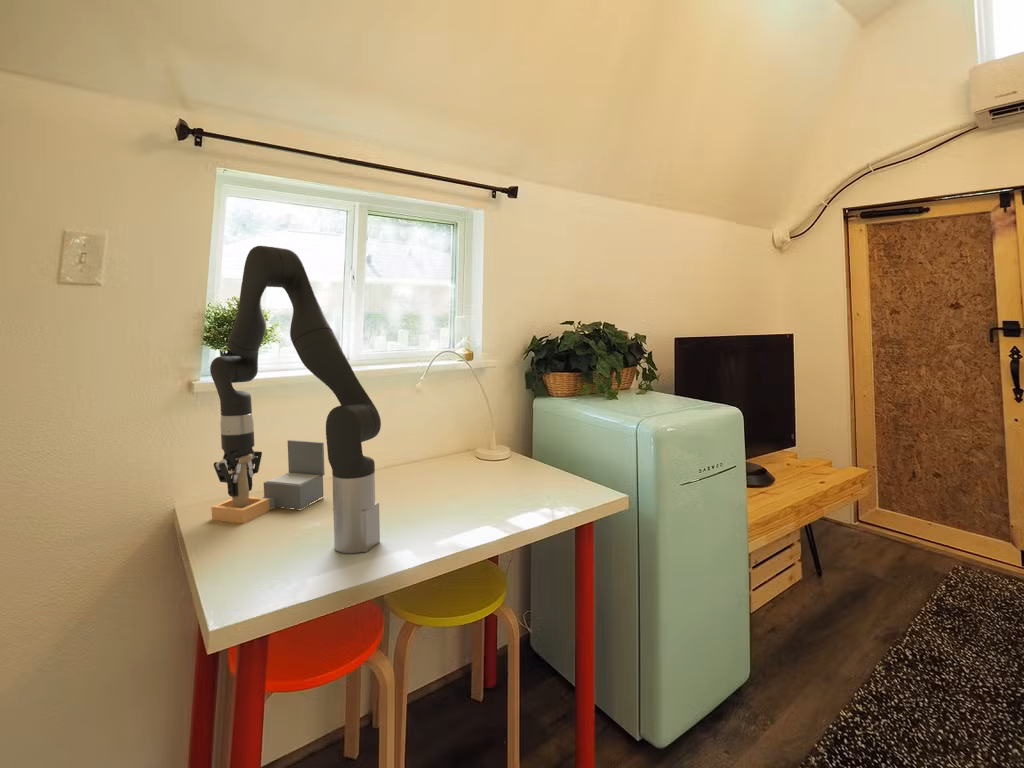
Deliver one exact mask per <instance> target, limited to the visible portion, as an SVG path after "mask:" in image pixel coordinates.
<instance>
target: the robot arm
mask: <svg viewBox="0 0 1024 768" xmlns="http://www.w3.org/2000/svg"><path fill="white" fill-rule="evenodd" d="M242 273H243V274H242V281H241V286H240V293H239V300H238V309H237V313H236V318H235V321H234V324H233V326H232V328H231V332H230V335H229V337H228V340H227V345H226V346H227V348H228V350H229V352H231V353H232V354H234V355H226V356H225V355H222V356H217V357H215V358H214V359H213V360H212V361H211V363H210V367H209V371H210V376H211V378H212V381H213V383H214V386H215V388H216V391H217V394H218V398H219V403H220V422H219V423H220V426H219V427H220V440H221V441H220V443H221V445H220V446H221V450H222V451H223V453H224V454H223V456H222V459H221V460H220V461H215V462H214V463H213V468H214V470H215V473H216V476H217V477H218V480H219V482H220V483H226V484H227V494H228V496H229V497H231V498H232V497H236V496H238V484H237V478H238V474H239V473H240V469H241V464H240V458H241V456H248V455H249V454H252V457H253V458H252V460H251V461H249V462H248V463H247V465H246V468H247V477H248V485H249V492H250V491H252V489H253V477H254V475H255V474H259V473H258V472H259V471H260V464H261V460H262V455H263V453H262V451H257V450H254V449H253V448H254V447H255V431H254V430H255V429H254V426H255V425H254V424H255V423H254V419H253V418H254V417H253V410H252V409H253V408H252V396H251V393H249V392H247V391H243V390H236V389H235V388H234V386H233V384H234V383H247V382H251V381H253V379H255V378H256V376H257V374H258V372H259V371H258V370H259V366H258V365H259V349H260V347H261V345H262V343H263V340H264V337H265V335H266V332H267V331H266V330H267V323H266V318H265V315H264V312H263V309H262V303H261V301H262V297H263V294H264V291H265V290H266V289H267V287H268V288H282V289H284V290H285V292H286V294H287V296H288V298H289V300H290V303H291V306H292V317H291V323H290V329H289V336H290V340H291V342H292V345H293V347H294V349H295V352H296V353H297V355H298V358H299V359H300V361H301V362H302V364H303V366H304V367H306V369H307V370H308V371H310V372H311V374H313V375H314V376H315V377H316V378H317V379H319V380H320V381H321V382H322V383H323V384H325V385H326V387H328V389H330V390H331V391H332V393H333V394H334V396H335V397H336V398H337V401H338V402H339V404H340V405H337V406H335V407H333V408H332V409H331V410H330V411H329V412H328V414H327V416H326V421H325V438H326V450H327V459H328V463H329V465H330V467H331V473H332V504H333V505H332V507H333V535H334V536H333V537H334V538H333V539H334V540H333V542H334V543H333V544H334V549H335V551H336V552H339V553H342V554H357V553H367V552H369V551H370V550H371V549H372V548H373V547H375V546H376V545H377V544H378V543H379V542H380V541H381V535H380V534H381V533H380V532H381V529H380V528H381V527H380V526H381V523H380V503H379V502H377V501H376V468H375V467H376V466H375V465H376V463H375V460H374V459H373V458H372V457H370V456H365V455H364V454H363V447H362V446H363V445H362V443H364V442H366V441H370V440H372V439H374V438H376V437H377V436H378V435H379V433H380V431H381V426H382V421H381V416H380V414H379V411H378V409H377V406H375V404H374V402H373V401H372V399H371V398H370V396H369V395H368V393H367V392H366V390H365V388H364V387H363V386H362V384H361V382H360V381H359V379H358V377H357V375H356V374H355V372H354V370H353V368H352V366H351V364H350V363H349V360H348V359H347V357H346V355H345V354H344V352H343V349H342V347H341V345H340V343H339V340H338V338H337V337H336V334H335V332H334V330H333V329H332V327H331V325H330V324H329V322H328V320H327V317H326V315H325V314H324V312H323V310H322V308H321V305H320V303H319V301H318V299H317V296H316V295H315V291H314V290H313V287H312V284H311V281H310V279H309V276H308V273H307V271H306V268H305V267H304V263H303V262H302V260H301V258H300V257H299V255H298V254H297V253H296V252H294V251H292V250H291V249H288V248H283V247H282V248H281V247H275V246H268V245H256V246H253V247H252V248H251V249H250V250H249V252H248V254H247V255H246V259H245V262H244V268H243V272H242ZM236 458H239V459H238V460H236ZM232 469H235V471H232ZM232 474H233V477H232Z"/></svg>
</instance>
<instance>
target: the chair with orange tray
mask: <svg viewBox="0 0 1024 768" xmlns="http://www.w3.org/2000/svg"><path fill="white" fill-rule="evenodd" d="M324 446H325V443H324V442H323V441H322V442H320V441H310V440H309V441H306V440H294V439H289V440H287V462H288V472H287V473H283V474H281V475H279V476H277V477H274V478H271V479H269V480H266V481H264V482H263V493H264V495H263V497H257V496H249V501H248V503H247V504H248V506H247V507H245V508H235V505H234V504H233V500H232V498H229V499H227V500H225V501H223V502H222V501H221V502H220V503H218V504H215V505H212V506H211V507H210V508H211V519H212V521H219V520H220V521H222V522H227V521H228V522H230V523H235V522H236V524H246V523H247V522H249V520H250V521H251V519H252V520H254V519H256V518H258V517H260V516H262V515H264V514H266V513H268V512H270V511H271V510H272V509H271V508H273V507H284V508H294V509H302V508H304V507H306V506H307V505H309V504H310V503H312V502H314V501H316V500H318V499H319V498H321V497H323V496H324V476H325V449H324V448H325V447H324ZM284 508H283V509H284ZM306 508H307V507H306ZM270 509H271V510H270ZM273 509H274V508H273ZM304 509H305V508H304ZM269 510H270V511H269ZM302 510H303V509H302ZM267 511H268V512H267ZM265 512H266V513H265ZM263 513H264V514H263ZM261 514H262V515H261ZM259 515H260V516H259ZM257 516H258V517H257ZM253 518H254V519H253ZM228 522H227V523H228Z"/></svg>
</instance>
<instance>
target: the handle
mask: <svg viewBox="0 0 1024 768" xmlns="http://www.w3.org/2000/svg"><path fill="white" fill-rule="evenodd" d="M252 458H253V457H252V454H249V455H248V456H241V458H240V464H241V469H240V473H239V474H238V478H237V484H238V496H236V497H231V499H232V500H233V504H234V505H235V508H245V507H247V506H248V504H247V503H248V501H249V497H250V491H249V485H248V477H247V468H246V465H247V463H248V462H249V461H251V460H252ZM238 459H239V458H236V460H238ZM231 470H232V471H235V469H231ZM232 477H233V474H232ZM232 477H231V478H232Z"/></svg>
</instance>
